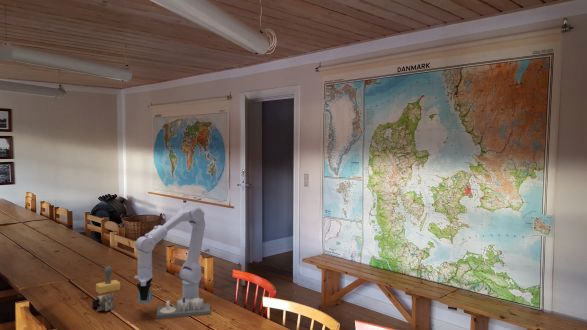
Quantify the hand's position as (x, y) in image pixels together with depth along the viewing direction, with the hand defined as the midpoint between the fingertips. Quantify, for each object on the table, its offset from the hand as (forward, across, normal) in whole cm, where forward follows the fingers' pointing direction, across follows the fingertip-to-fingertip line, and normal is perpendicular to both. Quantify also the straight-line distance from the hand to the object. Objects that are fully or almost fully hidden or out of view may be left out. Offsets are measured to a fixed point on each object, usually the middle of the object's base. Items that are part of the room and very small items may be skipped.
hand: (144, 297), depth 179 cm
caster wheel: (+8, -12, -19) cm, 24 cm away
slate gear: (+1, 0, 0) cm, 1 cm away
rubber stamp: (+8, -36, -20) cm, 42 cm away
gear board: (+8, 0, +16) cm, 18 cm away
